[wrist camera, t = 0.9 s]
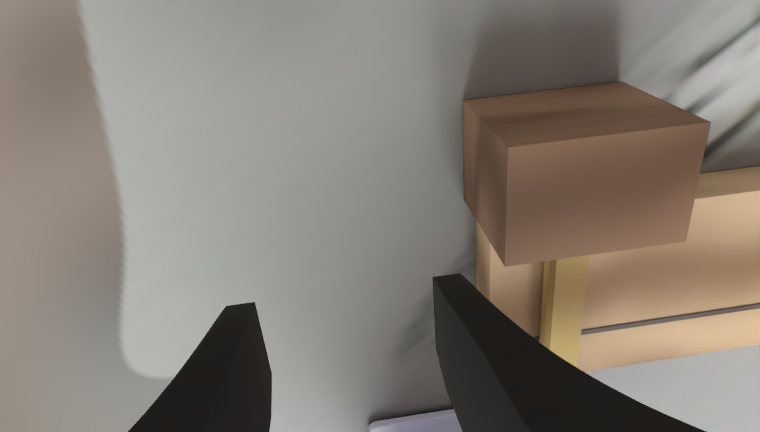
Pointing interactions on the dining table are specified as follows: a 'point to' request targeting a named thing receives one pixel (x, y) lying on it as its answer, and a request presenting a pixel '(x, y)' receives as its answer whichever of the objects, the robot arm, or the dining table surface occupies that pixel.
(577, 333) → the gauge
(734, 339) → the board
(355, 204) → the dining table surface
